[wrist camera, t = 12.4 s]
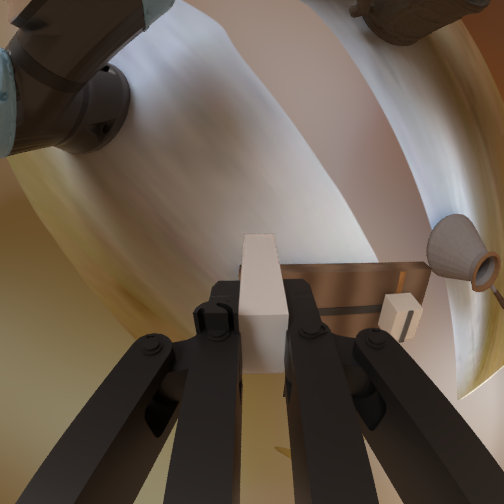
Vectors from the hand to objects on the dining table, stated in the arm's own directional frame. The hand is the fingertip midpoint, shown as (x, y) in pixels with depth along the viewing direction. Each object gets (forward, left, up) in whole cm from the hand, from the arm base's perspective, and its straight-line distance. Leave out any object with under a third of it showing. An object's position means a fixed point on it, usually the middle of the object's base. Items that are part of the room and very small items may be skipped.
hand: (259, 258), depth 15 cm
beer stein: (+19, +27, -26) cm, 42 cm away
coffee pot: (+37, -12, -26) cm, 47 cm away
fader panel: (+13, -20, -26) cm, 35 cm away
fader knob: (+23, -20, -22) cm, 37 cm away
